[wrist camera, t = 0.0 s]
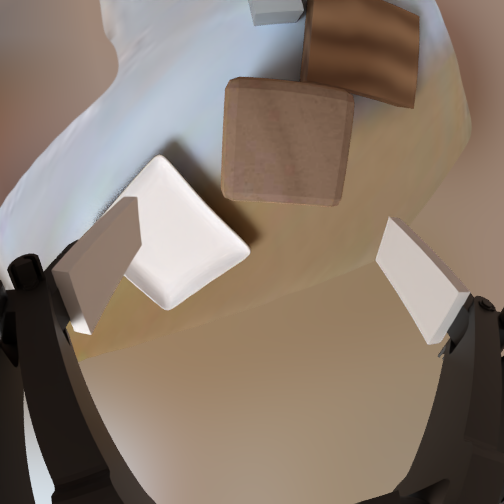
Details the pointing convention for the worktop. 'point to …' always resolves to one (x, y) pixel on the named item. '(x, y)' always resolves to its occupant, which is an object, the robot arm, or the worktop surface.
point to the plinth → (362, 49)
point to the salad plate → (177, 237)
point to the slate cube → (275, 11)
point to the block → (285, 141)
